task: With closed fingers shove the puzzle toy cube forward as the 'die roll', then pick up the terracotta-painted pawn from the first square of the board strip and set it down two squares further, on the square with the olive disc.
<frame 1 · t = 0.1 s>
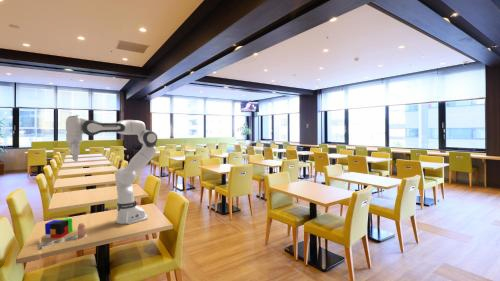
hand: (75, 160, 176), 48 cm above the table, fingers open, 8 cm apart
pawn: (81, 236, 168), point 1 cm above the table, touching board
puzzle toy: (59, 236, 170), on the table
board: (64, 241, 162), on the table
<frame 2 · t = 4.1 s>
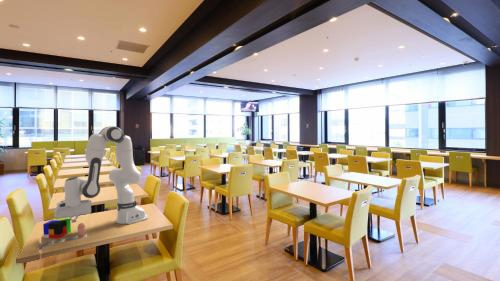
hand: (73, 222, 175), 7 cm above the table, fingers closed
puzzle toy: (57, 236, 170), on the table, touching gripper
everything else where it was.
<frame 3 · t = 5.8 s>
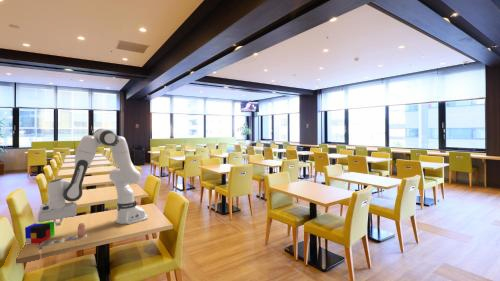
hand: (58, 225, 169), 7 cm above the table, fingers closed
puzzle toy: (40, 240, 164), on the table, touching gripper
everything else where it was.
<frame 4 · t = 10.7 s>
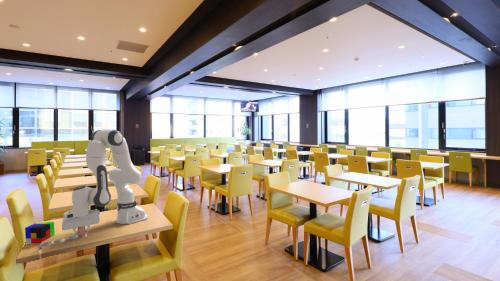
hand: (81, 233, 167), 3 cm above the table, fingers closed on pawn, 4 cm apart
pawn: (81, 236, 168), point 1 cm above the table, touching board, gripper
puzzle toy: (40, 240, 164), on the table
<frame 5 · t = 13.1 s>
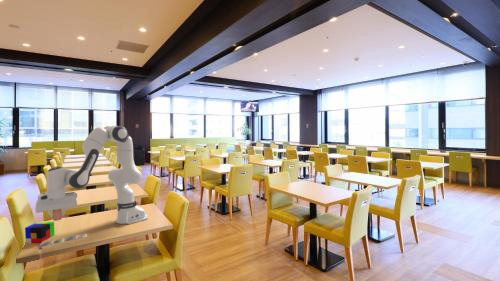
hand: (57, 216, 159), 16 cm above the table, fingers closed on pawn, 4 cm apart
pawn: (57, 219, 159), point 15 cm above the table, touching gripper
everything else where it was.
when the fingers open (4 cm above the table, at t = 15.5 s): pawn stays where it is, resting on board.
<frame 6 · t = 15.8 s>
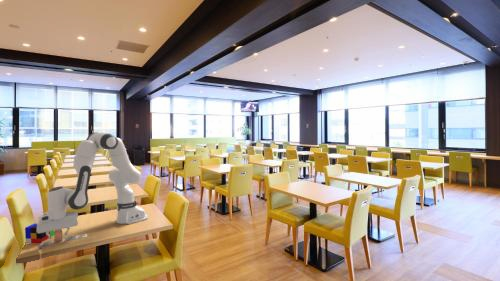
hand: (58, 236, 160), 4 cm above the table, fingers open, 7 cm apart
pawn: (58, 240, 160), point 1 cm above the table, touching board
everything else where it was.
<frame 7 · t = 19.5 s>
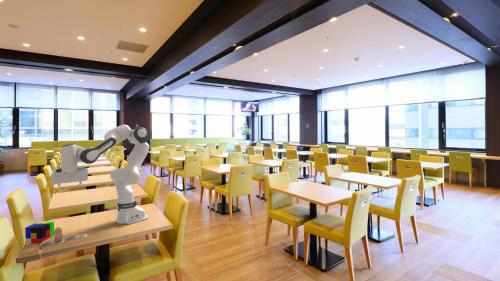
hand: (70, 189, 175), 29 cm above the table, fingers open, 8 cm apart
nothing on the table moved.
at the end: pawn 0.1 cm from the target spot on the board, point 1.3 cm above the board's base; pawn tilted 0°; puzzle toy moved 9.5 cm from its start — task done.
